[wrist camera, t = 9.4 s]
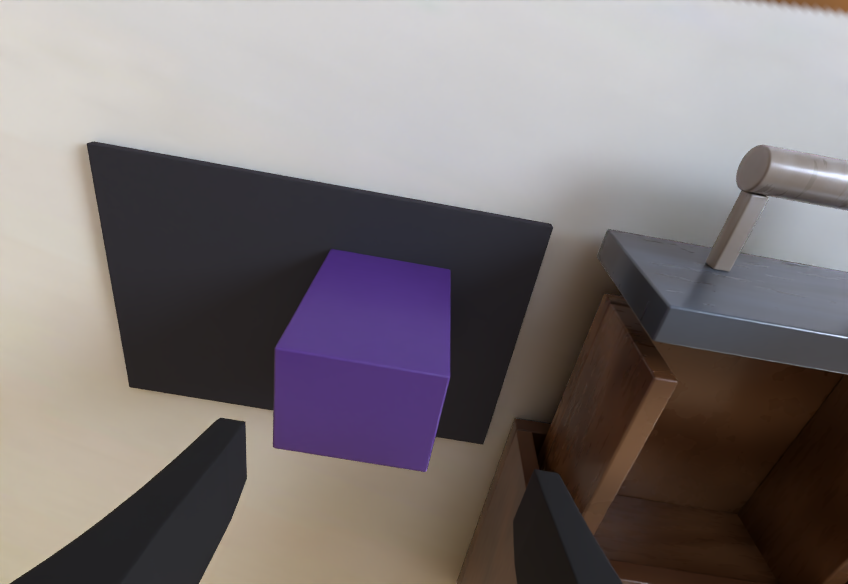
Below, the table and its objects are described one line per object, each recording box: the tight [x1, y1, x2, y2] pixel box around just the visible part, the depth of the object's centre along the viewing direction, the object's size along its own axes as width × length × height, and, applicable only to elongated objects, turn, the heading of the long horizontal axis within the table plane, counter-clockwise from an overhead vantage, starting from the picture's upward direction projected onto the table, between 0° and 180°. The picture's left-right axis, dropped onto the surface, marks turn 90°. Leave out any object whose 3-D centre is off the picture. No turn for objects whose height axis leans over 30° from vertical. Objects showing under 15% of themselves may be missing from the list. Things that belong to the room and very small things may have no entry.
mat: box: [87, 142, 553, 444], centre depth 21 cm, size 18×12×1 cm, turn 80°
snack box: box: [273, 249, 451, 472], centre depth 17 cm, size 5×4×7 cm
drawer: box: [537, 145, 848, 584], centre depth 18 cm, size 18×12×6 cm
